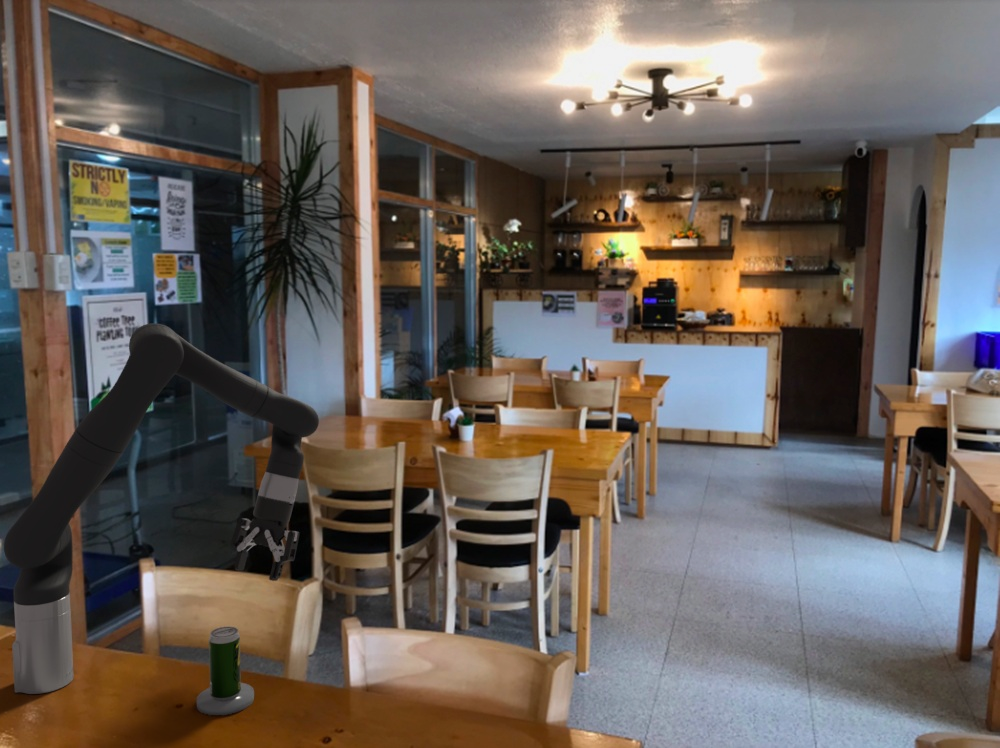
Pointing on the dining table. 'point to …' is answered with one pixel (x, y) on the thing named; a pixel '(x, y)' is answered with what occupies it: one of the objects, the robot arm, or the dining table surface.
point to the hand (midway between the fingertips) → (256, 575)
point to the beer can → (224, 663)
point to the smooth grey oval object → (225, 702)
